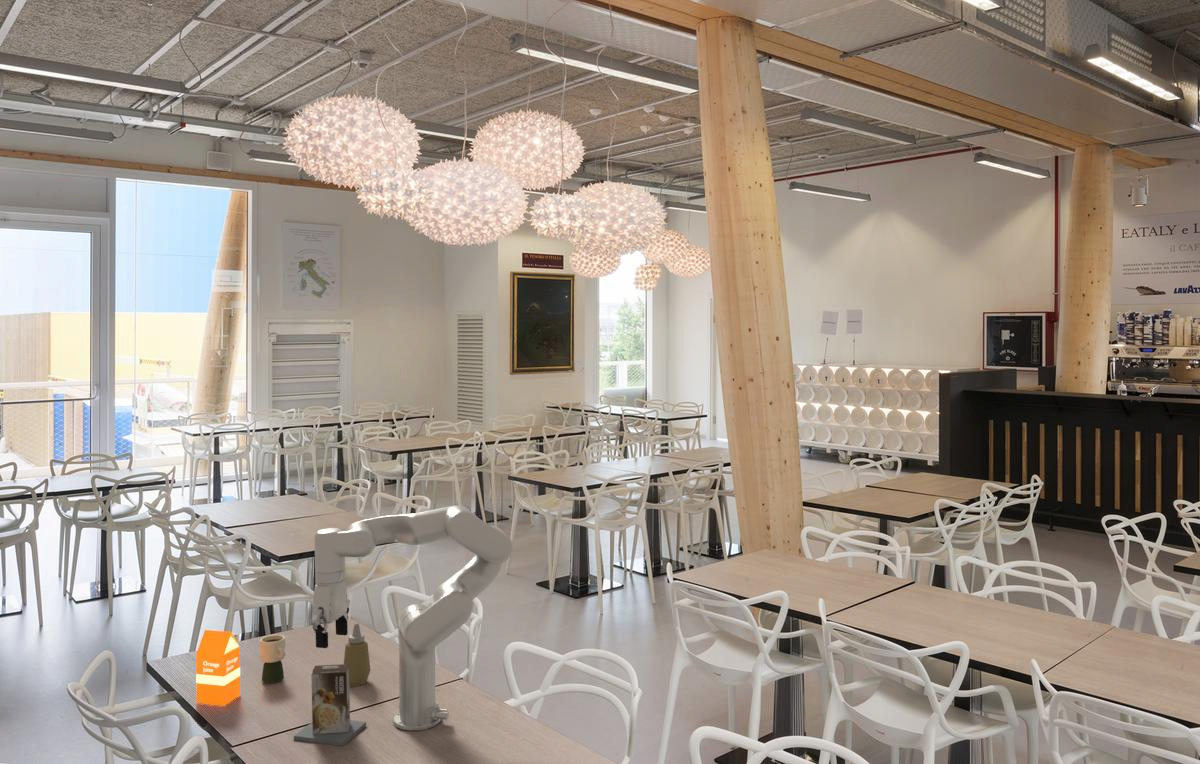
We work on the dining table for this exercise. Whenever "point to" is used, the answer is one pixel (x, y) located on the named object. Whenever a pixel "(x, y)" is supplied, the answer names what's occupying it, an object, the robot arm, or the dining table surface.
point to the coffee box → (330, 699)
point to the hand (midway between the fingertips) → (332, 641)
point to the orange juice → (218, 668)
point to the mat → (330, 734)
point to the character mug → (272, 657)
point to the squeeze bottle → (357, 658)
